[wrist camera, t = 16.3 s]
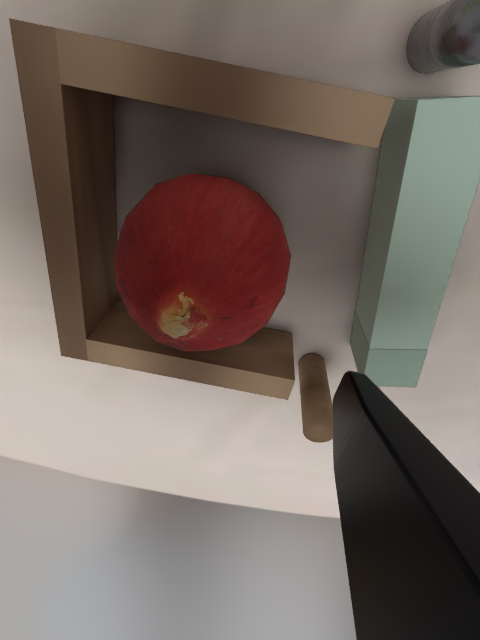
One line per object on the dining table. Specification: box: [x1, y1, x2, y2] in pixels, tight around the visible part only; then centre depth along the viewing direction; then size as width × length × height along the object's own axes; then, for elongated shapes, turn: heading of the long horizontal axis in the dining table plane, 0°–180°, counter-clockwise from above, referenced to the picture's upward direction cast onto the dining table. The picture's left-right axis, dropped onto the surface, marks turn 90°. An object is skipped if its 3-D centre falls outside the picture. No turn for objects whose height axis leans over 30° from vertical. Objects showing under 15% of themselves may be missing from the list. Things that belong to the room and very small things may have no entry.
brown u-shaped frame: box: [9, 19, 395, 442], centre depth 13 cm, size 12×13×4 cm
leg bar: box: [350, 96, 480, 387], centre depth 13 cm, size 10×2×3 cm, turn 3°
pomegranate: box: [114, 174, 291, 351], centre depth 12 cm, size 6×6×8 cm
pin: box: [407, 0, 480, 73], centre depth 9 cm, size 2×2×4 cm
